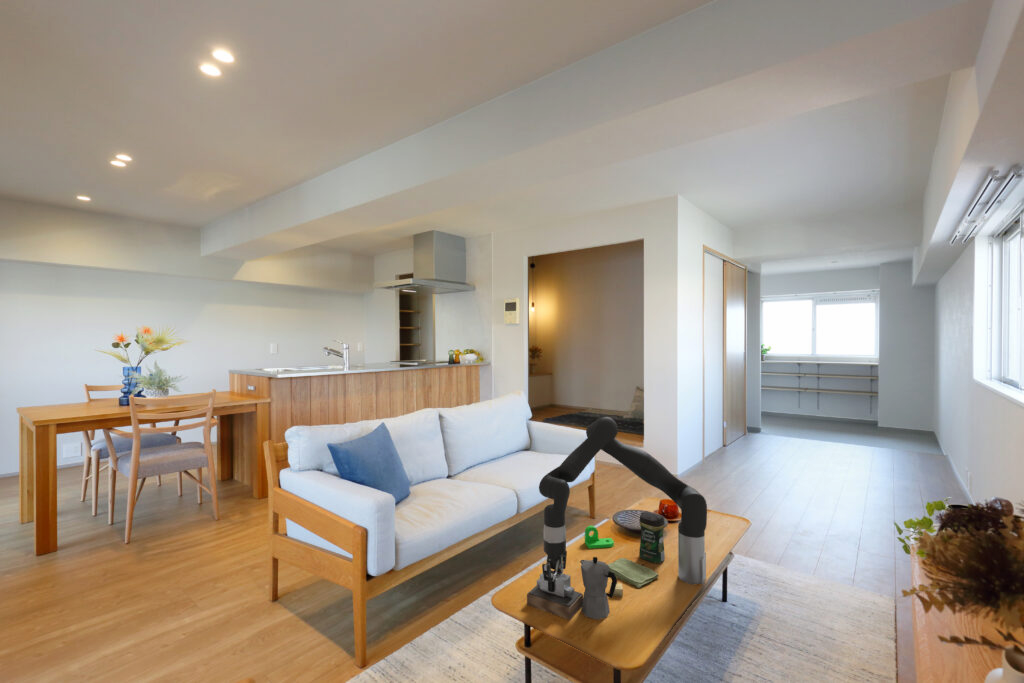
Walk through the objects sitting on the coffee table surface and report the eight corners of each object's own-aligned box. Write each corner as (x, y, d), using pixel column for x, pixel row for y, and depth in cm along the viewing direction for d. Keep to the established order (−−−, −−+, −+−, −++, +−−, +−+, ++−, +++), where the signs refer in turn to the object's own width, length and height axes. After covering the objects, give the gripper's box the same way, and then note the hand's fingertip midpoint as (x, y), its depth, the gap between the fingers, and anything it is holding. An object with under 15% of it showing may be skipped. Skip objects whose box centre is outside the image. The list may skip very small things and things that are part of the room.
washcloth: (640, 591, 167) (640, 582, 167) (601, 573, 181) (600, 564, 181) (660, 579, 176) (660, 570, 176) (621, 562, 189) (621, 554, 189)
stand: (583, 605, 158) (582, 592, 158) (570, 620, 149) (570, 607, 149) (541, 592, 167) (541, 579, 167) (526, 605, 158) (526, 592, 158)
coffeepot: (570, 608, 156) (570, 554, 156) (589, 598, 162) (589, 546, 162) (607, 630, 145) (606, 572, 144) (626, 618, 150) (626, 562, 150)
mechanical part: (588, 550, 200) (588, 531, 200) (584, 544, 206) (584, 525, 206) (615, 548, 202) (615, 529, 202) (611, 542, 208) (610, 524, 208)
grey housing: (541, 581, 164) (541, 567, 164) (576, 592, 157) (575, 577, 157) (534, 588, 159) (534, 573, 159) (569, 599, 152) (569, 583, 152)
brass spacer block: (621, 591, 167) (621, 583, 167) (622, 598, 163) (622, 589, 163) (610, 591, 167) (610, 582, 167) (611, 597, 163) (611, 588, 163)
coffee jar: (636, 558, 192) (636, 512, 192) (646, 552, 198) (645, 507, 197) (658, 566, 185) (658, 519, 185) (667, 559, 191) (667, 513, 191)
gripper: (554, 527, 166) (555, 575, 166) (534, 542, 154) (534, 594, 154) (573, 532, 162) (574, 581, 162) (554, 547, 150) (555, 601, 150)
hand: (555, 587), depth 158 cm, fingers closed on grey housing, 5 cm apart
